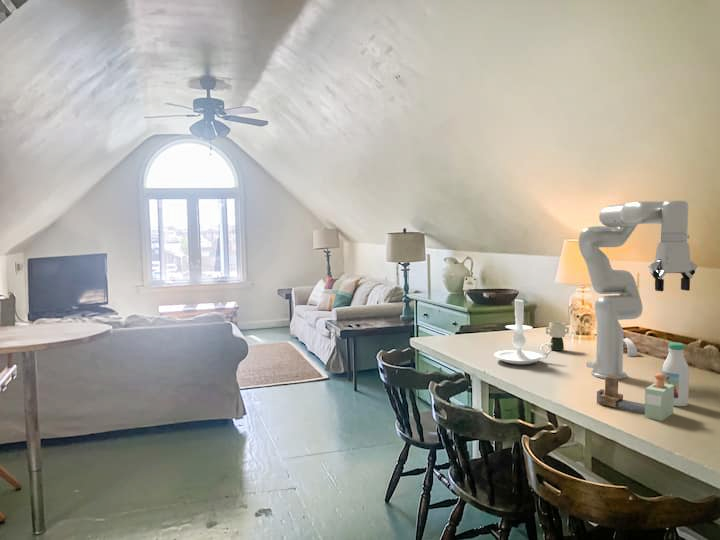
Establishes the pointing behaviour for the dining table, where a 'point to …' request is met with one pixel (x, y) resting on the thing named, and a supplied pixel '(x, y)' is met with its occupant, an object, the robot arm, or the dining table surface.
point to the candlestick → (520, 341)
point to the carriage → (610, 392)
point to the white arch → (630, 347)
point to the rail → (625, 404)
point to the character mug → (557, 334)
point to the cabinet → (659, 401)
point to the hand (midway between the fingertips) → (672, 290)
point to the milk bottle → (677, 373)
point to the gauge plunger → (660, 380)
